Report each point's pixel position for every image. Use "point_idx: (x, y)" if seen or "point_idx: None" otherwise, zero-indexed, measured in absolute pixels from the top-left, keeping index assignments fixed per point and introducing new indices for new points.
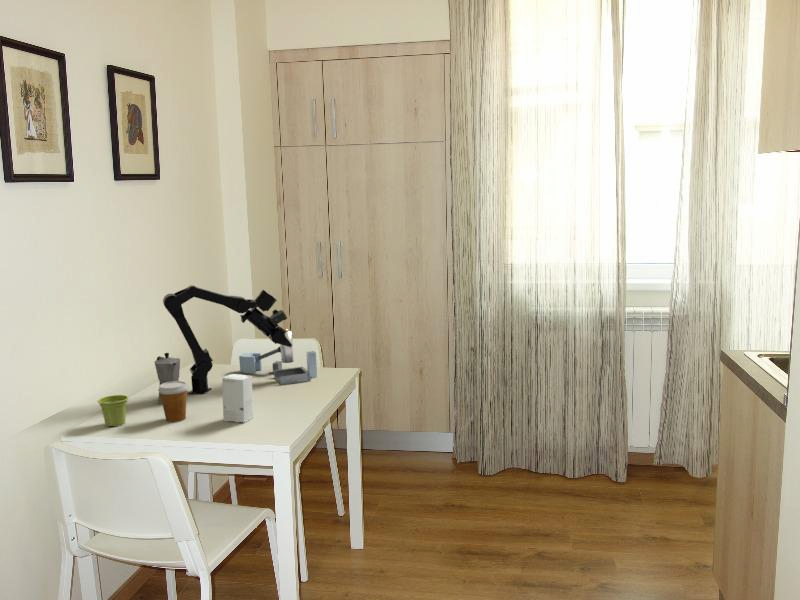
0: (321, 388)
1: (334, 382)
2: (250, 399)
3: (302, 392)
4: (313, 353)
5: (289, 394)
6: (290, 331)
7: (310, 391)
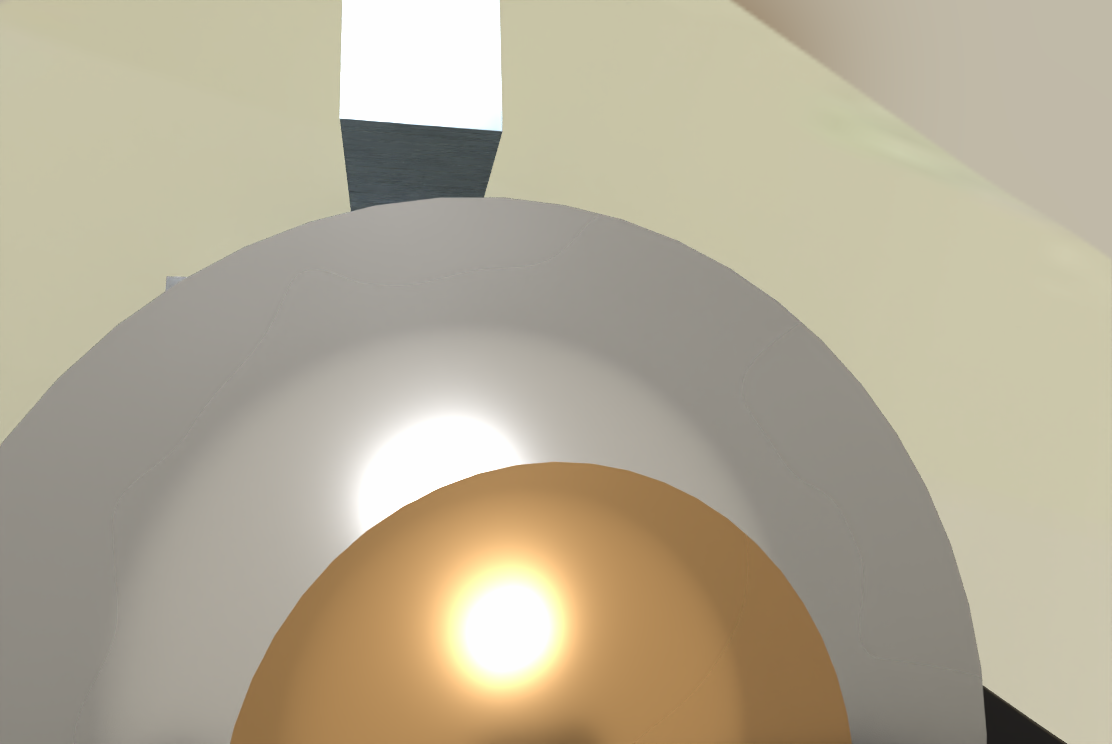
0: (918, 307)
1: (759, 127)
2: None
3: (990, 519)
4: (499, 44)
5: (1018, 666)
6: (618, 308)
7: (981, 434)
